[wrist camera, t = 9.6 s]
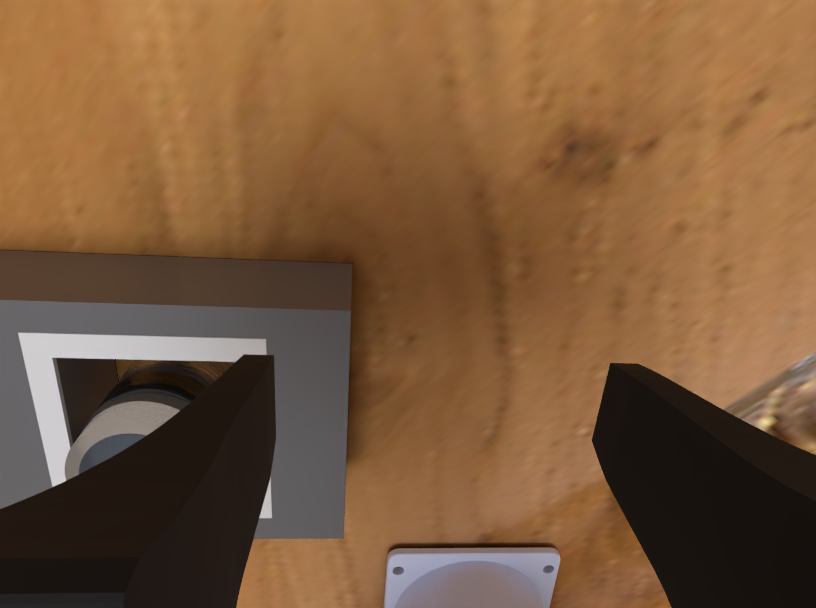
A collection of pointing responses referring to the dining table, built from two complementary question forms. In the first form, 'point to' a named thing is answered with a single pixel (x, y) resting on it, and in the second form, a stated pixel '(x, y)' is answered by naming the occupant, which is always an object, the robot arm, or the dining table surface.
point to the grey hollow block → (181, 341)
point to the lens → (139, 407)
